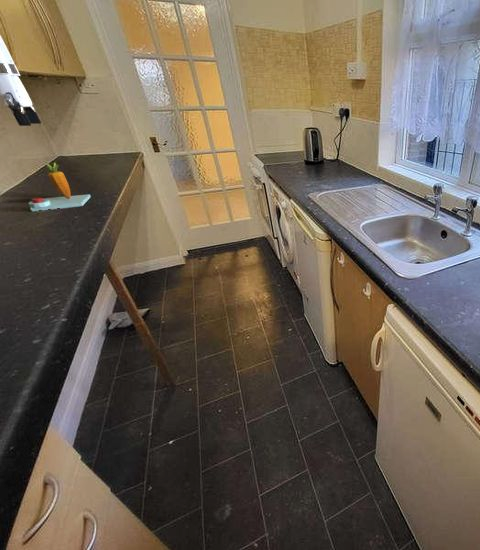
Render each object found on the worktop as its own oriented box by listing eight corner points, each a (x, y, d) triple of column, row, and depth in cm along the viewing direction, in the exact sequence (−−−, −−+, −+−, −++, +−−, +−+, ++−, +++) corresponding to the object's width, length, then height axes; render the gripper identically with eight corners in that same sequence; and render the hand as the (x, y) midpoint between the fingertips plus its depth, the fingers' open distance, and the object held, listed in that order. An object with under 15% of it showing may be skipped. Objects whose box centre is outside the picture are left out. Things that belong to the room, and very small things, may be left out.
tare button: (32, 204, 118) (30, 200, 117) (35, 201, 120) (33, 198, 119) (42, 203, 119) (40, 199, 118) (45, 201, 121) (43, 197, 120)
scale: (30, 212, 117) (25, 204, 116) (43, 201, 128) (39, 194, 127) (82, 206, 124) (78, 199, 122) (91, 197, 135) (88, 190, 133)
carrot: (72, 196, 131) (54, 161, 123) (78, 198, 129) (60, 162, 121) (59, 199, 127) (38, 163, 119) (65, 201, 125) (44, 164, 117)
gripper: (0, 71, 109) (27, 122, 118) (-26, 68, 96) (7, 126, 105) (27, 72, 112) (51, 122, 121) (6, 69, 99) (35, 126, 108)
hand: (31, 124), depth 113 cm, fingers open, 9 cm apart
